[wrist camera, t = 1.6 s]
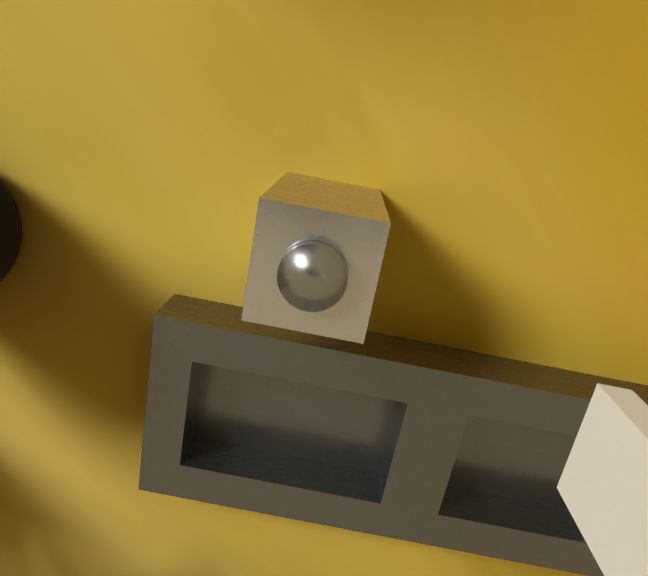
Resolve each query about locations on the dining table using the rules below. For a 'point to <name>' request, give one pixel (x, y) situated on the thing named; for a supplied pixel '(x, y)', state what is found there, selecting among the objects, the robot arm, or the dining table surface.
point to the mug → (8, 232)
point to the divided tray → (366, 434)
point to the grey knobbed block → (316, 257)
